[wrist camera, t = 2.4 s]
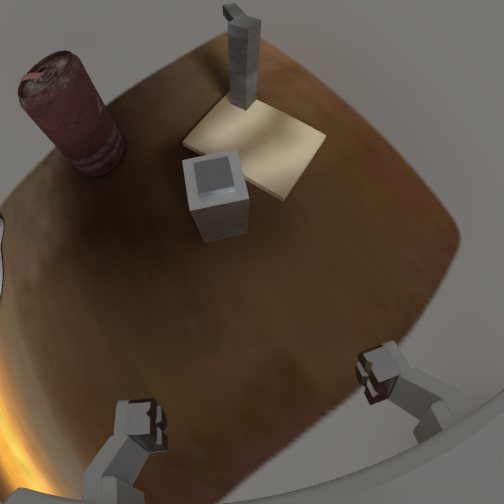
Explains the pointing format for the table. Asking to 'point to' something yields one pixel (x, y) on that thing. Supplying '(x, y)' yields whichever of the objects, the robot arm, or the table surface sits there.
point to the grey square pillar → (217, 195)
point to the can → (72, 113)
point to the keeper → (254, 119)
